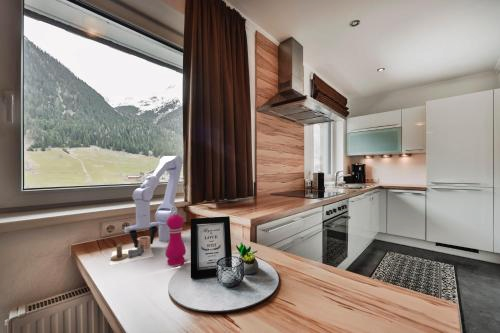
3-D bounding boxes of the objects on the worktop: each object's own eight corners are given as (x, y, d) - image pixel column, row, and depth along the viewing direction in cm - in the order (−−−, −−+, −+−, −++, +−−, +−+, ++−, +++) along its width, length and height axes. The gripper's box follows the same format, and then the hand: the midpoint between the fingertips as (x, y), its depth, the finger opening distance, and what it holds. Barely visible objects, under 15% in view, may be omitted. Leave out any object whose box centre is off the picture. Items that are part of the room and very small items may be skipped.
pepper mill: (179, 268, 78) (178, 212, 78) (161, 267, 79) (160, 212, 80) (189, 260, 85) (188, 209, 85) (172, 259, 86) (171, 209, 87)
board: (150, 246, 101) (150, 245, 101) (153, 258, 87) (153, 256, 87) (112, 253, 94) (112, 251, 94) (109, 267, 80) (109, 265, 80)
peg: (128, 254, 91) (127, 241, 91) (127, 258, 86) (127, 246, 86) (111, 257, 88) (111, 244, 88) (110, 262, 83) (109, 249, 83)
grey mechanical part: (143, 251, 93) (143, 245, 93) (144, 255, 89) (144, 248, 89) (128, 254, 90) (128, 247, 90) (128, 258, 86) (128, 251, 86)
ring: (149, 244, 100) (149, 235, 100) (150, 247, 95) (150, 238, 95) (136, 246, 98) (136, 237, 98) (136, 250, 93) (136, 241, 93)
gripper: (156, 211, 104) (157, 239, 104) (122, 216, 95) (123, 247, 95) (162, 213, 99) (162, 242, 99) (126, 218, 90) (126, 251, 89)
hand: (143, 245), depth 96 cm, fingers closed on ring, 6 cm apart
